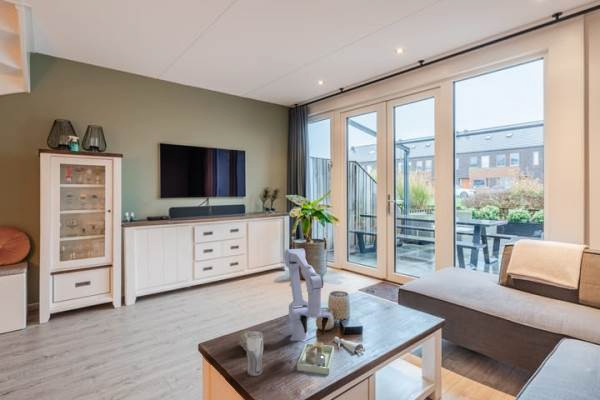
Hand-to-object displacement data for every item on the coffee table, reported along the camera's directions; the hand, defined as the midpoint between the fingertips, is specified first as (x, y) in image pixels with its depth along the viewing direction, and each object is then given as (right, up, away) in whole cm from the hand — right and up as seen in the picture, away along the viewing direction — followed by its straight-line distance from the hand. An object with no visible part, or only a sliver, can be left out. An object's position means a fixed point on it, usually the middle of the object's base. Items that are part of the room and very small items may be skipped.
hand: (314, 333), depth 138 cm
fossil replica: (-29, -10, +6) cm, 32 cm away
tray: (+1, -10, -5) cm, 11 cm away
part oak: (+2, -9, -1) cm, 10 cm away
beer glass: (-25, -10, -12) cm, 29 cm away
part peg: (+2, -10, -11) cm, 15 cm away
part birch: (-1, -10, -6) cm, 11 cm away
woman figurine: (+16, -10, +7) cm, 20 cm away
